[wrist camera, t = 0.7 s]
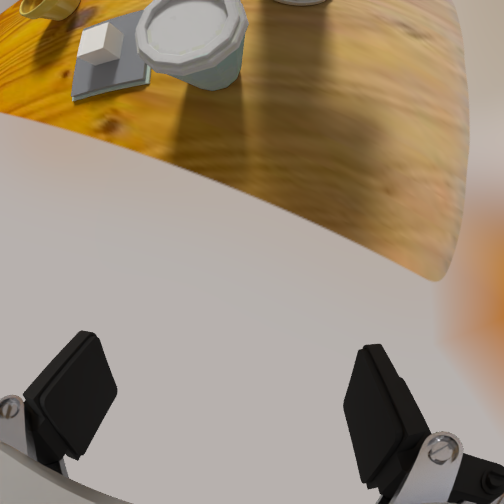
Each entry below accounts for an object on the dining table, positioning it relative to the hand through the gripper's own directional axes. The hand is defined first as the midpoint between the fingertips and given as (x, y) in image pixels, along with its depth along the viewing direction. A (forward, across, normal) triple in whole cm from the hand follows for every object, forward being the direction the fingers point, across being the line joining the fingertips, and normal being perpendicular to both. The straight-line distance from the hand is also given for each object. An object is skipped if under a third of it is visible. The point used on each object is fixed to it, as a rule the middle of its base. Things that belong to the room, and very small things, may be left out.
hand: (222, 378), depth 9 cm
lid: (+28, +21, -27) cm, 44 cm away
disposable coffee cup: (+29, +5, -20) cm, 36 cm away
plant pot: (+29, +35, -43) cm, 63 cm away
